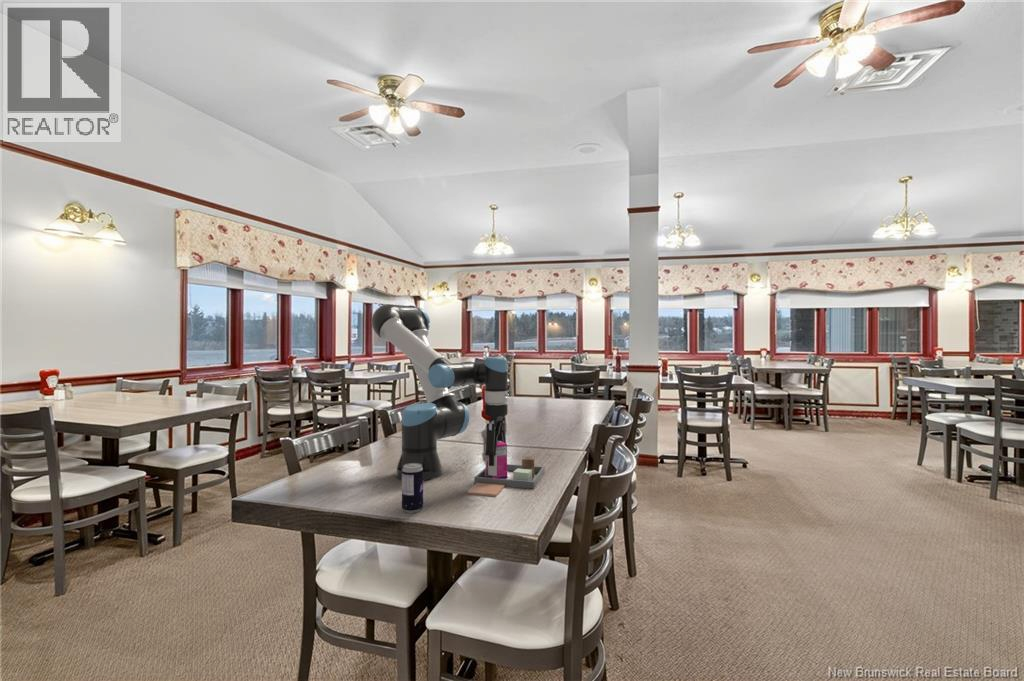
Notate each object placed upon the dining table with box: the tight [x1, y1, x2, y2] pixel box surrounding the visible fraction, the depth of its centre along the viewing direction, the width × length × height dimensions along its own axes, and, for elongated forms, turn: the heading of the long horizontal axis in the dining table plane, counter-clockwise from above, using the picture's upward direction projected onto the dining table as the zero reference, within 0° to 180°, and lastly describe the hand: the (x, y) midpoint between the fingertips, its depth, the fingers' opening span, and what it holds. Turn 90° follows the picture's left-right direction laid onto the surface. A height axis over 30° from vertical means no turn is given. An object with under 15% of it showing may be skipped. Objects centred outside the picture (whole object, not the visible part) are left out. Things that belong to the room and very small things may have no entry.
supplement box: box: [484, 440, 508, 479], centre depth 156 cm, size 6×6×12 cm
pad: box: [466, 483, 506, 497], centre depth 142 cm, size 9×9×1 cm
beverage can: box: [401, 463, 424, 514], centre depth 126 cm, size 6×6×12 cm
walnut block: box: [521, 455, 535, 479], centre depth 157 cm, size 4×4×6 cm
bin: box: [473, 463, 546, 489], centre depth 154 cm, size 19×17×2 cm
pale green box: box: [512, 468, 533, 481], centre depth 149 cm, size 5×4×4 cm
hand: (496, 471), depth 156 cm, fingers open, 8 cm apart
